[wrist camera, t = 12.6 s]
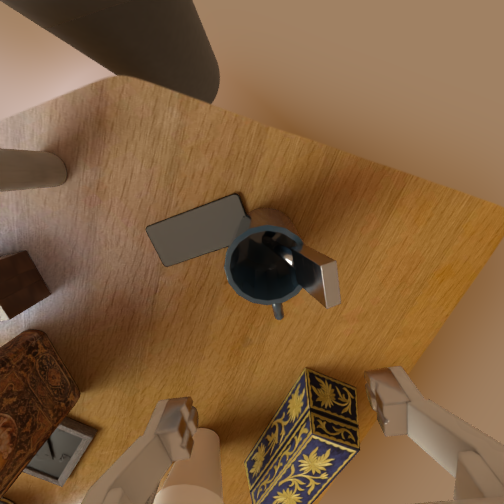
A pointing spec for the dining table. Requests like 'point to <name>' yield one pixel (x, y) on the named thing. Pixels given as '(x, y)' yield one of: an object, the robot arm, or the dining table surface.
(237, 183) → the dining table surface
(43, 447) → the picture frame
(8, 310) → the utensil block
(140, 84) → the dining table surface
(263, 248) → the grey coffee mug
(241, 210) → the smartphone
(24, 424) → the book
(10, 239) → the dining table surface
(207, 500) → the cup
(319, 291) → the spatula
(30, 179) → the grey hollow cylinder
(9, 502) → the apothecary jar
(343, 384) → the decorative box
